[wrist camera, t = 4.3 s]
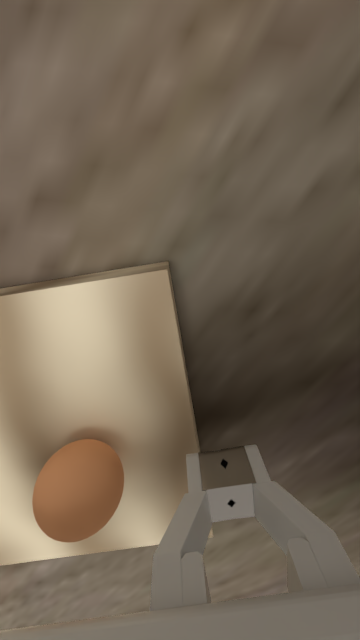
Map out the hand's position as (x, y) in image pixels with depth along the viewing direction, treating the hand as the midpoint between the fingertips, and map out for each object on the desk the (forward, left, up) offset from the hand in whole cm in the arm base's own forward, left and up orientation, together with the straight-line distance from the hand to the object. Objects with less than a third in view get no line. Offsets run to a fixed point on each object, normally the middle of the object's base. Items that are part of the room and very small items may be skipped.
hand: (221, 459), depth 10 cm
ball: (+6, 0, -1) cm, 6 cm away
